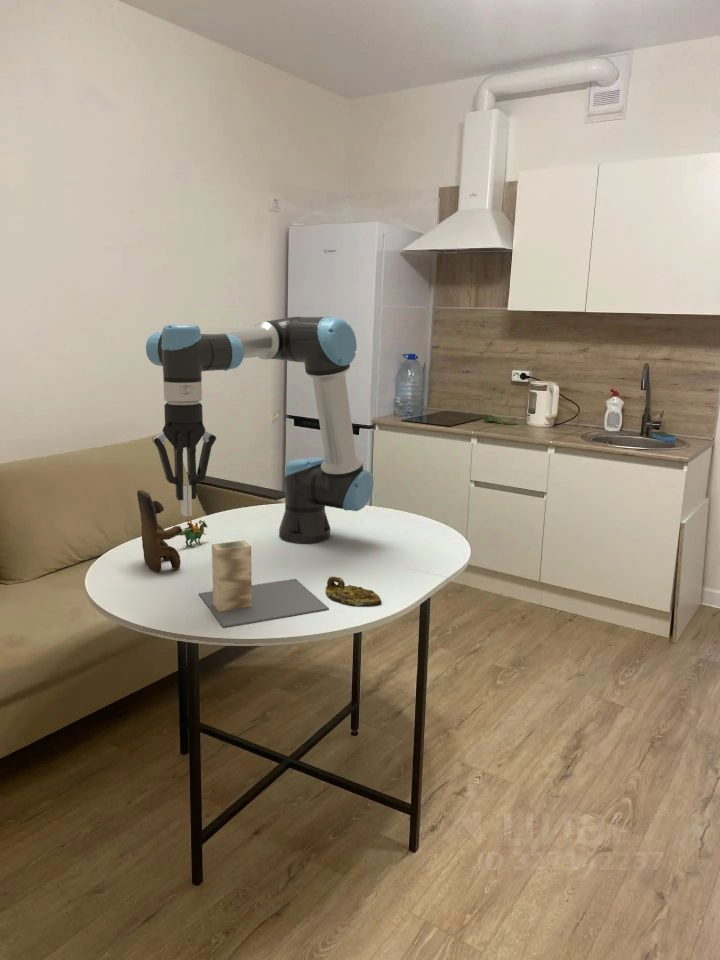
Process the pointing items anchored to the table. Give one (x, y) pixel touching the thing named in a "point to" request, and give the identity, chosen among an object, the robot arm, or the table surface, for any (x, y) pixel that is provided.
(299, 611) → the rubber mat
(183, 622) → the table surface
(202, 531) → the figurine
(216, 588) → the beech block
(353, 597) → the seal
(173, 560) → the figurine
